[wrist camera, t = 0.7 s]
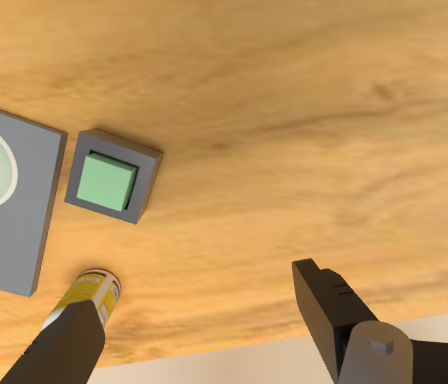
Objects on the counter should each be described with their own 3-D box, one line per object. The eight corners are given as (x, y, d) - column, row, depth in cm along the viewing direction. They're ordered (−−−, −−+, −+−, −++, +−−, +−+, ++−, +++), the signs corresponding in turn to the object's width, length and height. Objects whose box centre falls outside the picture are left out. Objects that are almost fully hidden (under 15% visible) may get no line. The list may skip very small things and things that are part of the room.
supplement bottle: (67, 286, 32) (8, 359, 23) (96, 259, 32) (47, 324, 22) (102, 312, 34) (59, 390, 25) (131, 287, 33) (98, 359, 24)
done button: (97, 151, 25) (86, 156, 23) (139, 165, 26) (131, 171, 24) (88, 189, 26) (76, 197, 24) (128, 202, 27) (120, 211, 25)
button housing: (95, 128, 27) (79, 131, 24) (163, 152, 28) (156, 159, 25) (81, 190, 29) (64, 201, 26) (144, 211, 30) (136, 224, 26)
